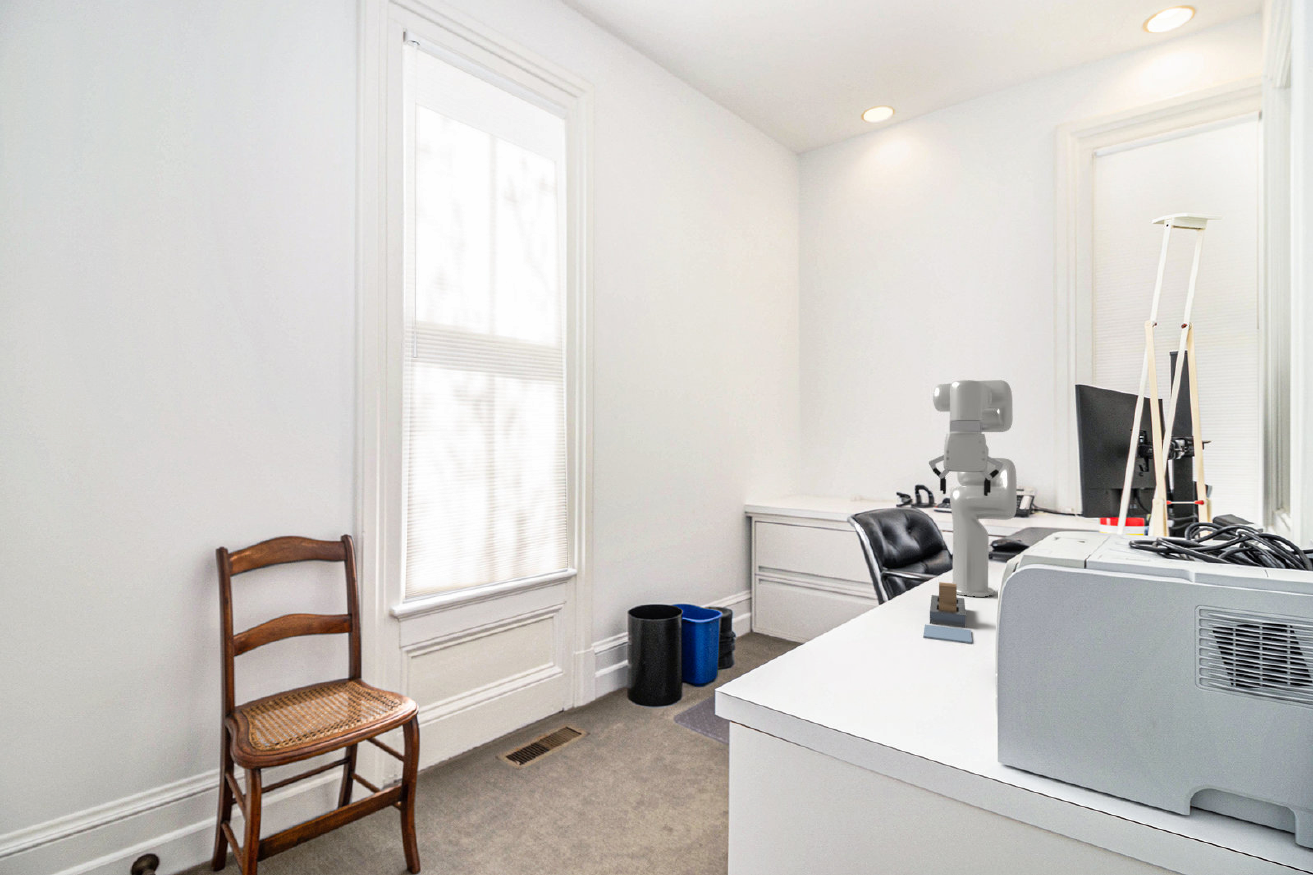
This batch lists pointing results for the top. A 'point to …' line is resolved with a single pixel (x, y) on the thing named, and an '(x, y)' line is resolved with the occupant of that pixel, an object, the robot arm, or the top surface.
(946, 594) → the plug
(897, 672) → the top surface
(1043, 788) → the top surface
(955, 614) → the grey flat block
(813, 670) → the top surface
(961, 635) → the pad
